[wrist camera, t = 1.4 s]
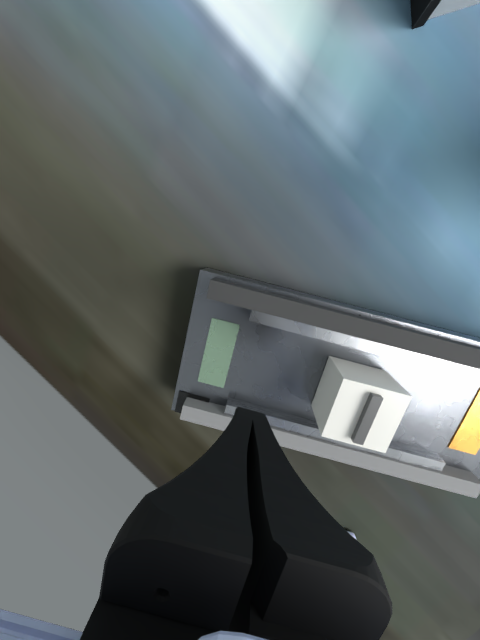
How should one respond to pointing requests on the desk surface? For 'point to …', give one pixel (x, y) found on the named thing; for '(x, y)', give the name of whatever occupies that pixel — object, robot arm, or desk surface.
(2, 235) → the desk surface
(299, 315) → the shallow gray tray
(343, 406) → the breaker knob
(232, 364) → the slider track
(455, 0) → the disc drive
